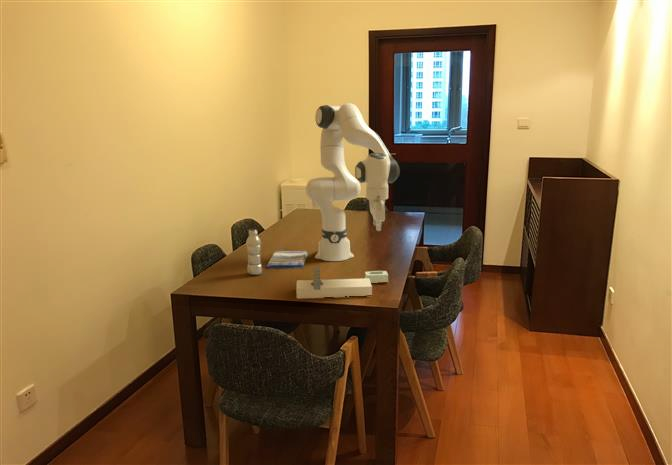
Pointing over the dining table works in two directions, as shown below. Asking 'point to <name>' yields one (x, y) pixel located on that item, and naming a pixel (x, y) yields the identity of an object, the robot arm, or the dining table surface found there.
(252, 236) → the plastic bottle
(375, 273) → the cover
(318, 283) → the grey bar
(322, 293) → the housing
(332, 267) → the dining table surface
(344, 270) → the dining table surface
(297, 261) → the dish towel
